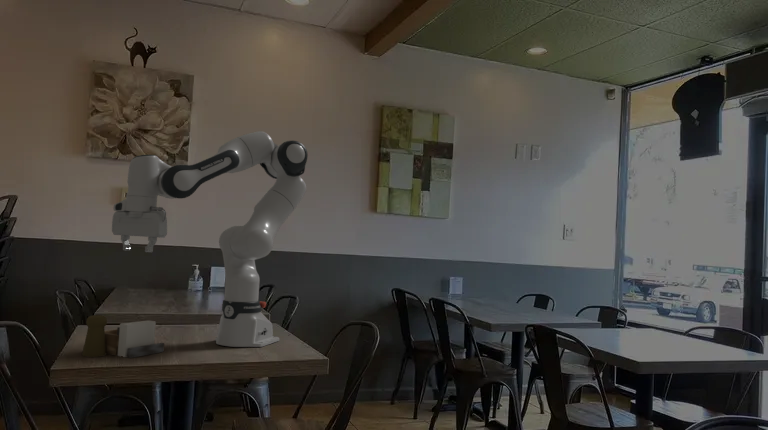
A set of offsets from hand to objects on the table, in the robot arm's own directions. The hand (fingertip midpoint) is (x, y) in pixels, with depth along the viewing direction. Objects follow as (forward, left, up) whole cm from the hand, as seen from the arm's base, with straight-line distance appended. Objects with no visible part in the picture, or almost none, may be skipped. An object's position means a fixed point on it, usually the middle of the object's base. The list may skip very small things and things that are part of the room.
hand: (137, 251), depth 176 cm
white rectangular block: (+6, +9, -29) cm, 31 cm away
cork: (+14, +2, -29) cm, 33 cm away
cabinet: (+5, +5, -29) cm, 30 cm away
